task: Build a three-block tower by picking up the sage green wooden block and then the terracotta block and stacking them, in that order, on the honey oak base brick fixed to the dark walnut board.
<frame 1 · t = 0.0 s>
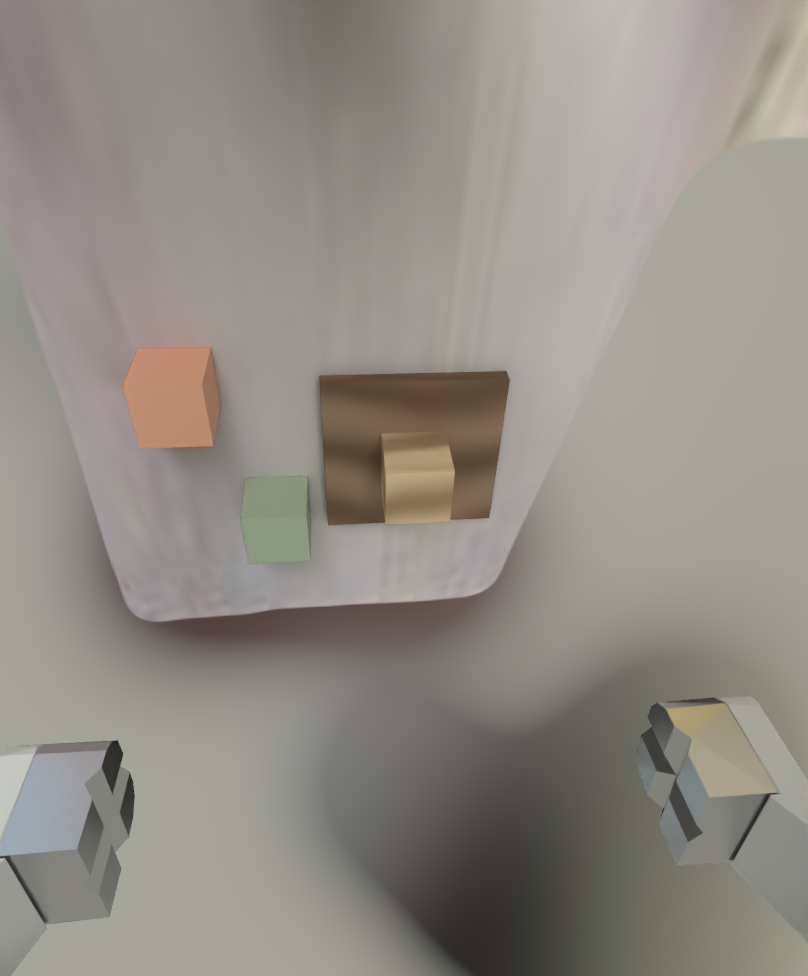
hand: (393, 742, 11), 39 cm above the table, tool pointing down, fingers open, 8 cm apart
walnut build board: (410, 448, 56), on the table
sage block: (279, 499, 58), on the table
terracotta block: (181, 378, 50), on the table
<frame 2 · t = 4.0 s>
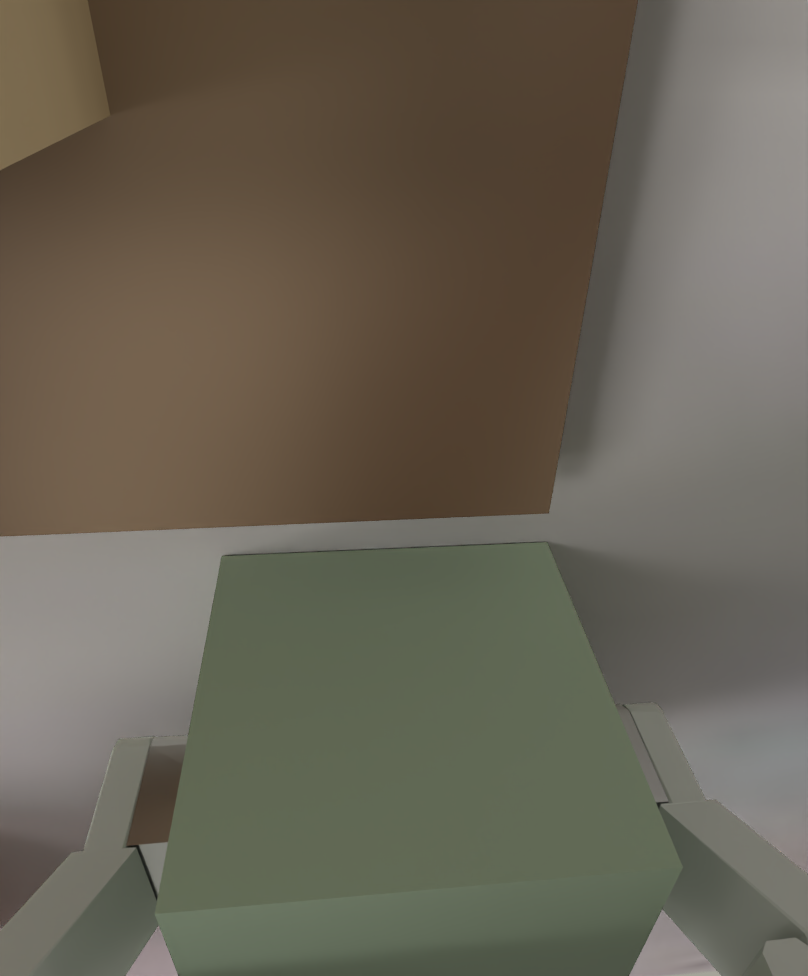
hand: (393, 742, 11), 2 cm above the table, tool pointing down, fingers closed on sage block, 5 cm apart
sage block: (386, 659, 12), on the table, touching gripper
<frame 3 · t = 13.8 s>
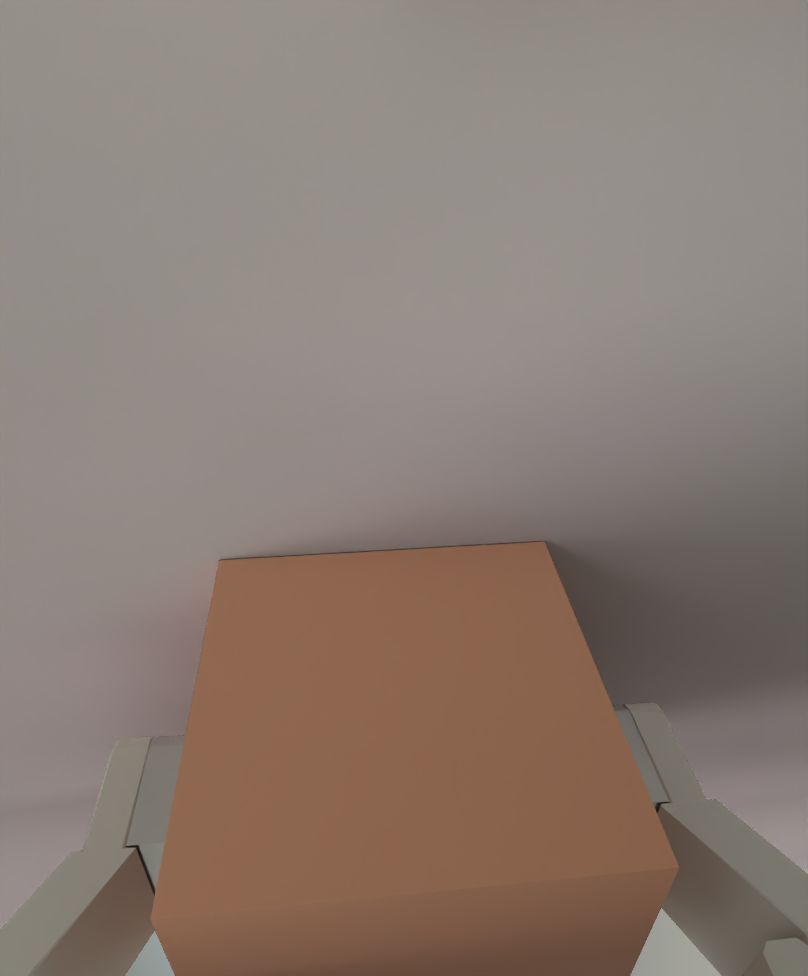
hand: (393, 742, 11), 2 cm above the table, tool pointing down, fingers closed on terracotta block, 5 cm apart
terracotta block: (386, 661, 12), on the table, touching gripper
when the fingers open (14 cm above the table, at t = 18.5 s): terracotta block drops 1 cm, resting on sage block.
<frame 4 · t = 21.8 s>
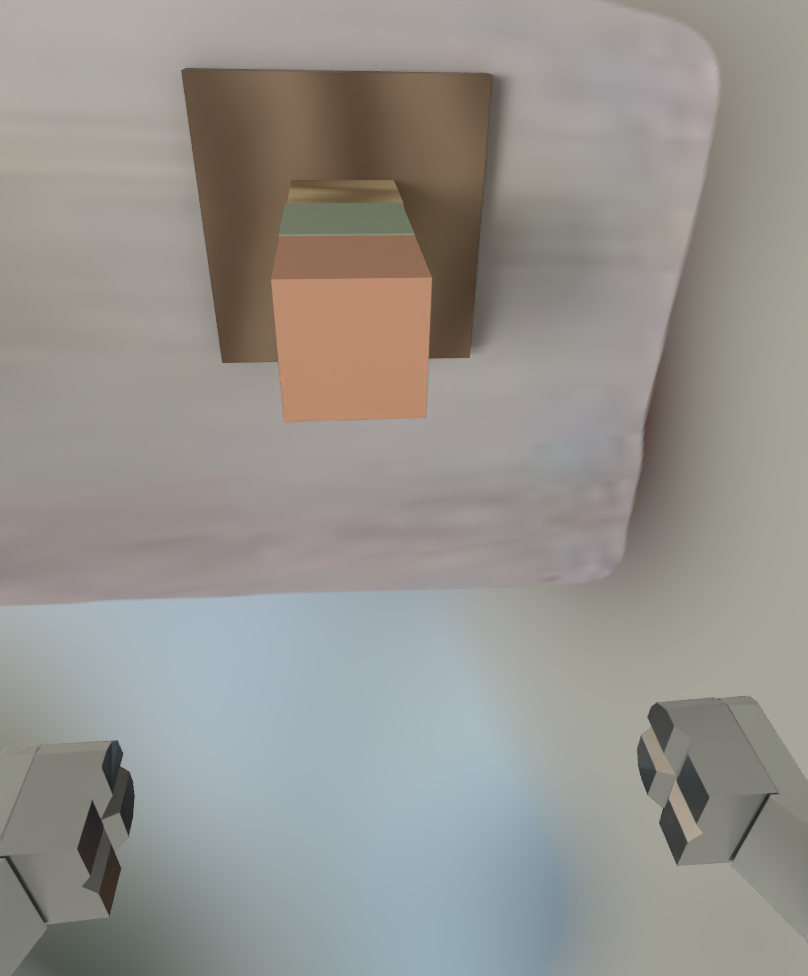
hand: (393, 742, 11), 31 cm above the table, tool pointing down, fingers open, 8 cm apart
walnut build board: (343, 226, 36), on the table
sage block: (345, 261, 31), point 6 cm above the table, touching terracotta block, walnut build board
terracotta block: (349, 301, 27), point 11 cm above the table, touching sage block
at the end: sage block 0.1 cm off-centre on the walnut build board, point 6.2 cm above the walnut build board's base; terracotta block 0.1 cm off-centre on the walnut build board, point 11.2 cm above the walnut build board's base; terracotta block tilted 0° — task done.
